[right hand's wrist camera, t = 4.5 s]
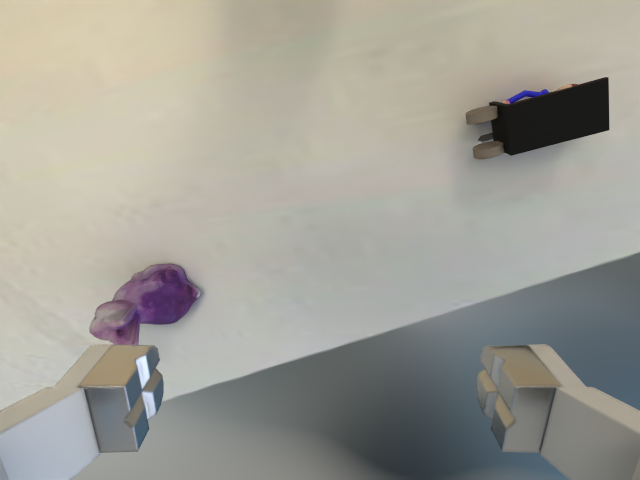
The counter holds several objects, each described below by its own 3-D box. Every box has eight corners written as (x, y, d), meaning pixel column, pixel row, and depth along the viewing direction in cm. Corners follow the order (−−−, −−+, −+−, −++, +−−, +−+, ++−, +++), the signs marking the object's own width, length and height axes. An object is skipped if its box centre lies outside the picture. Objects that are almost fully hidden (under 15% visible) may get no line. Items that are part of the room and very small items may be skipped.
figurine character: (466, 156, 57) (583, 124, 54) (479, 168, 50) (615, 132, 47) (457, 107, 55) (579, 71, 52) (470, 113, 48) (611, 71, 45)
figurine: (116, 288, 63) (57, 347, 49) (158, 245, 61) (110, 294, 47) (164, 327, 65) (122, 394, 51) (207, 287, 63) (175, 346, 49)
